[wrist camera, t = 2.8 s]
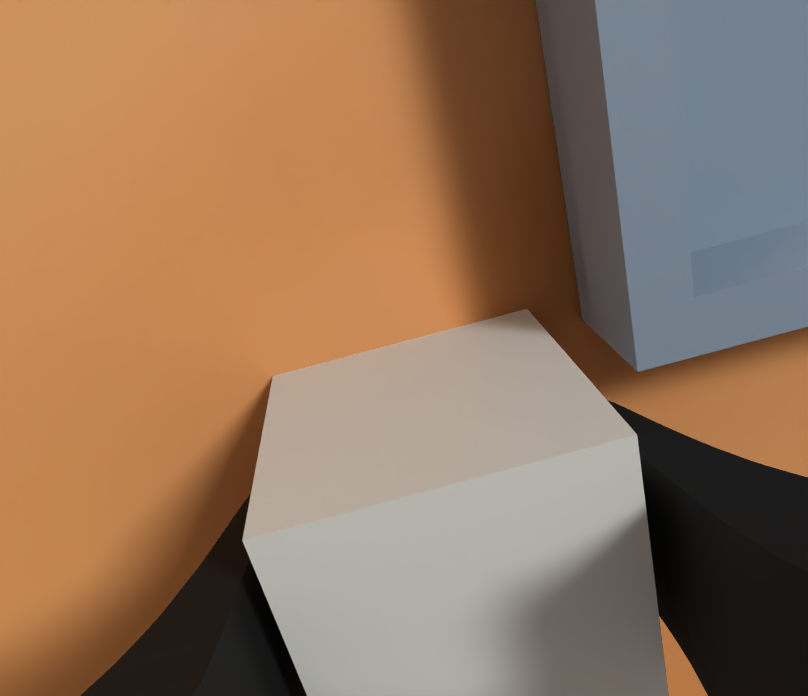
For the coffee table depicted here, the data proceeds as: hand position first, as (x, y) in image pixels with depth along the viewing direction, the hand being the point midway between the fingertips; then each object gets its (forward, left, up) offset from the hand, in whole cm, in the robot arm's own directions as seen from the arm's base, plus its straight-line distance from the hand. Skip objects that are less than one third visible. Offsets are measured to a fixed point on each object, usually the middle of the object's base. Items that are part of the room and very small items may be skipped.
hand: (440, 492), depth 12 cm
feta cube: (0, 0, -2) cm, 2 cm away
